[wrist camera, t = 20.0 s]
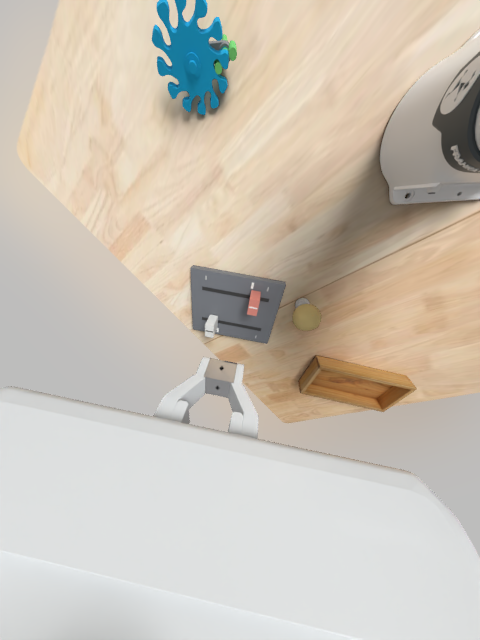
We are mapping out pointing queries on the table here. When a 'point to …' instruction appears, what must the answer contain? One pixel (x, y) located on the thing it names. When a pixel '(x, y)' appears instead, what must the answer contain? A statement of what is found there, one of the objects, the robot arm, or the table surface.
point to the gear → (193, 54)
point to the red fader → (254, 303)
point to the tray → (354, 384)
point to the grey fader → (211, 326)
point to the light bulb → (306, 315)
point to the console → (234, 302)
